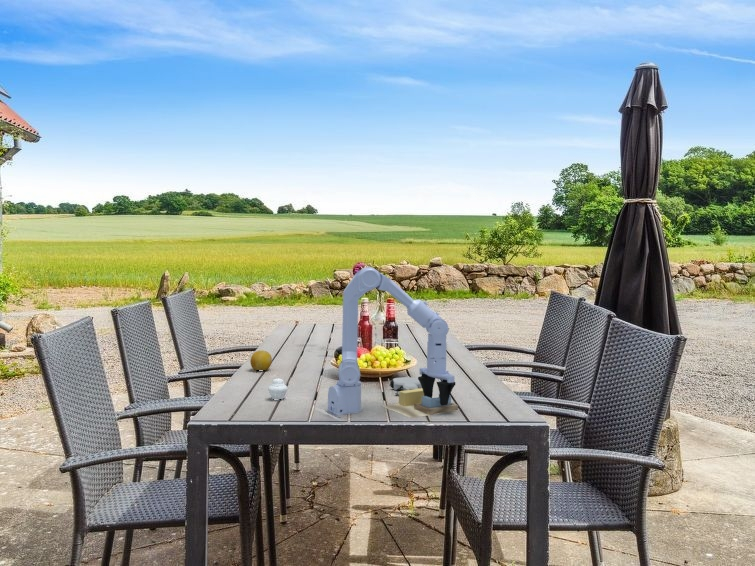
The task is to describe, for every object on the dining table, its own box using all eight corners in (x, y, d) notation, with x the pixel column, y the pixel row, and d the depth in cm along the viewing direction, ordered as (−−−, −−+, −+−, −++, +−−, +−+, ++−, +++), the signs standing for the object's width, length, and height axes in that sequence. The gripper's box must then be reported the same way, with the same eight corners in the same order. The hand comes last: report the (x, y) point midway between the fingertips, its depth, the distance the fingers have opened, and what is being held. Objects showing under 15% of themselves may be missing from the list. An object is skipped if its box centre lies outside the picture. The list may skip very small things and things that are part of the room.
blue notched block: (442, 406, 193) (442, 393, 193) (450, 409, 189) (450, 396, 189) (421, 409, 188) (421, 396, 188) (429, 412, 185) (429, 399, 185)
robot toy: (430, 401, 207) (421, 388, 222) (431, 388, 206) (422, 375, 221) (393, 402, 205) (387, 388, 220) (394, 388, 205) (387, 376, 220)
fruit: (269, 373, 247) (269, 352, 246) (248, 372, 247) (248, 352, 246) (273, 368, 255) (273, 349, 255) (253, 368, 256) (253, 349, 255)
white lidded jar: (266, 398, 206) (266, 376, 205) (284, 396, 208) (284, 375, 208) (270, 402, 200) (270, 380, 199) (289, 400, 202) (289, 379, 202)
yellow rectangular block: (404, 406, 192) (404, 393, 192) (398, 404, 195) (398, 391, 195) (430, 402, 198) (430, 389, 198) (424, 400, 200) (424, 387, 200)
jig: (411, 421, 179) (411, 412, 179) (381, 409, 192) (381, 401, 192) (459, 413, 189) (460, 404, 189) (428, 402, 202) (428, 394, 202)
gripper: (462, 359, 184) (462, 405, 185) (432, 352, 196) (431, 395, 197) (443, 361, 180) (443, 408, 181) (414, 354, 192) (413, 398, 193)
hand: (436, 402), depth 189 cm, fingers open, 7 cm apart
